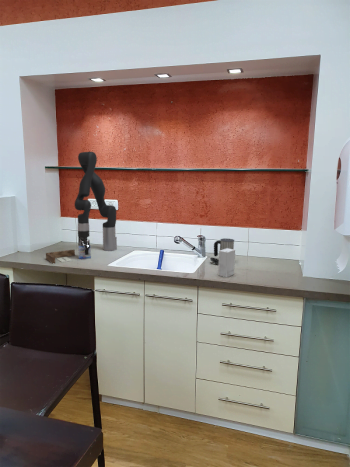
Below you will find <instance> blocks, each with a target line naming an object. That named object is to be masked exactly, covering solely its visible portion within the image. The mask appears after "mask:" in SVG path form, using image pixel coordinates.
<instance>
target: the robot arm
mask: <svg viewBox="0 0 350 467" xmlns="http://www.w3.org/2000/svg"><path fill="white" fill-rule="evenodd" d="M77 159H78V163H79V165H80V167H81V168H82V171H83V172H84V175H83V176H82V178H81V179H80V182H79V187H78V193H77V196H76V199H75V201H74V208H75V209H76V210H77V211H83V212H82V213H79V214H77V238H78V243H77V244H78V245H83V246H84V248H85V255H88V249H90V247H91V244H90V243H91V242H90V241H91V240H90V239H88V238H89V237H90V223H89V222H90V219H89V218H90V212H91V208H92V202H91V201H90V200H89V199H85V198H87V197H90V194H91V191H92V193H93V197H94V199H95V201H96V205H97V208H98V212H99V214H100V216H101V217H102V218H105V219H106V221H105V222H102V248H103V251H108V252H109V251H111V252H112V251H115V250H117V249H118V243H117V241H118V240H117V236H116V224H117V209H116V206H114V205H112V204H107V202H106V201H105V194H106V187H105V184H104V182H103V180H102V178H101V177H100V176H99V174H97V173H96V172H95V169H96V165H97V161H98V158H97V154H96V152H94V151H82V152H79V153H78V156H77Z"/></svg>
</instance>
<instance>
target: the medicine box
mask: <svg viewBox="0 0 350 467" xmlns="http://www.w3.org/2000/svg"><path fill="white" fill-rule="evenodd" d="M77 249H78V259H79V260H85V259H91V258H92V256H91V255H92V252H91V250H92V249H91V246H90V249H88V255H85V248H84V246H83V245H78V246H77Z"/></svg>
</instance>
